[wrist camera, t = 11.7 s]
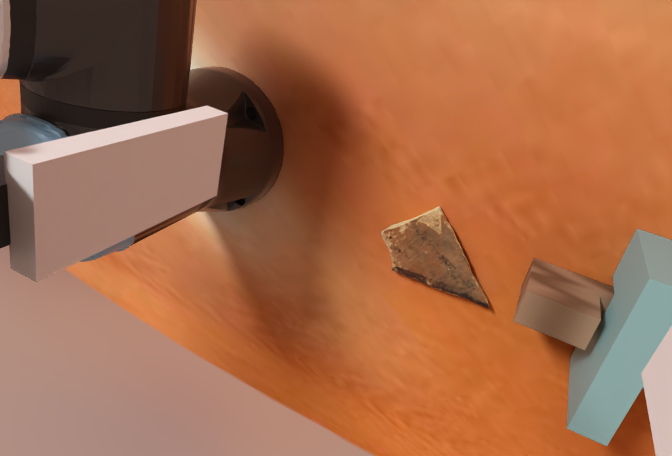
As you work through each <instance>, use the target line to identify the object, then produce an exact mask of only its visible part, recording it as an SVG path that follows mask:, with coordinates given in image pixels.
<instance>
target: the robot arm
mask: <svg viewBox="0 0 672 456" xmlns="http://www.w3.org/2000/svg"><path fill="white" fill-rule="evenodd" d="M196 2H197V0H0V79H19V81H20V95H21V114H20V113H17V114H13V115H9V116H7V117H5V118H4V119H3V120H1V121H0V248H2V247H5V246H7V245H9V247H10V264H11V269H13V270H15V271H17V272H18V273H20V274H22V275H24V276H26V277H28V278H30V279H32V280H33V281H35V282H38V281H40V280H42V279H44V278H46V277H48V276H50V275H52V274H54V273H57V272H59V271H61V270H63V269H65V268H67V267H69V266H71V265H73V264H75V263H77V262H84V261H91V260H94V259H97V258H100V257H102V256H105V255H107V254H110V253H112V252H115V251H122V250H125V249H126V248H129V246H131V245H133V244H135V243H137V242H139V241H141V240H143V239H145V238H146V237H148V236H150V235H152V234H154V233H156V232H158V231H160V230H162V229H164V228H166V227H168V226H170V225H172V224H174V223H176V222H178V221H180V220H181V219H183V218H185V217H187V216H189V215H191V214H193V213H195V212H211V211H233V210H237V209H240V208H243V207H245V206H247V205H249V204H251V203H253V202H255V201H257V200H258V199H260V198H261V197H263V196H264V195H265V194H266V193H267V192H268V191H269V190H270V189H271V187H272V186H273V184H274V183H275V181H276V179H277V177H278V175H279V172H280V169H281V165H282V159H283V138H282V132H281V127H280V124H279V121H278V118H277V115H276V113H275V111H274V109H273V107H272V105H271V103H270V102H269V100H268V98H267V97H266V96H265V94H264V93H263V92H262V91H261V90H260V88H259V87H258V86H257V85H256V84H254V83H253V82H252V81H251V80H250V79H248V78H247V77H245V76H244V75H242V74H240V73H238V72H236V71H234V70H231V69H227V68H223V67H206V68H198V69H192V70H190V65H191V54H192V44H193V33H194V23H195V12H196ZM641 375H642V380H643V386H644V392H645V397H646V403H647V409H648V414H649V420H650V426H651V431H652V437H653V443H654V448H655V454H656V456H672V326H671V327H670V329H669V331H668V332H667V334H666V335H665V337H664V338H663V340H662V342H661V343H660V345H659V346H658V348H657V349H656V351H655V353H654V354H653V356H652V357H651V359H650V360H649V362H648V363H647V365H646V367H645V368H644V370H643V371H642V373H641Z"/></svg>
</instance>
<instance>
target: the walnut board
mask: <svg viewBox="0 0 672 456" xmlns="http://www.w3.org/2000/svg"><path fill="white" fill-rule="evenodd" d="M614 295H615V294H614V287H613V286H610V285H607V284H604V283H602V282H599V281H596V280H593V279H591V278H588V277H585V276H583V275H580V274H577V273H574V272H572V271H569V270H566V269H563V268H561V267H558V266H555V265H553V264H550V263H547V262H544V261H542V260H539V259H536V258H534V259H533V261H532V263H531V266H530V268H529V270H528V273H527V275H526V277H525V280H524V282H523V284H522V288H521V292H520V296H519V300H518V304H517V308H516V313H515V317H514V322H516V323H519V324H521V325H524V326H526V327H529V328H531V329H534V330H536V331H539V332H541V333H543V334H546V335H548V336H551V337H553V338H556V339H558V340H561V341H563V342H566V343H568V344H571V345H573V346H575V347H578V348H580V349H583V350H585V349H586V347H587V345H588V343H589V341H590V340H591V338H592V336H593V334H594V332H595V330H596V329H597V327H598V325H599V323H600V321H601V319H602V317H603V315H604V314H605V312H606V310H607V308H608V306H609V304H610V302H611V300H612V298H613V296H614Z"/></svg>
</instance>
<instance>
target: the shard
mask: <svg viewBox="0 0 672 456" xmlns="http://www.w3.org/2000/svg"><path fill="white" fill-rule="evenodd" d="M381 235H382V237H383V239H384V241H385V243H386V245H387V247H388V249H389V252H390V255H391V259H392V263H393V266H392V270H393V271H395V272H398V273H399V274H403V275H404V276H406V277H409V278H412V279H416V280H418V281H419V282H421V283H424V284H427V285H429V286H431V287H433V288H436V289H439V290H442V291H444V292H447V293H449V294H453V295H456V296H459V297H463V298H466V299H469V300H471V301H473V302H475V303H477V304H479V305H482V306H485V307H487V308H490V307H489V304H488V298H487V296H486V295H485V293H484V291H483V289H482V287H481V285H480V284H479V282H478V281H477V280H476V278H475V276H474V275H473V273H472V272H471V268H470V265H469V262H468V260H467V258H466V257H465V255H464V253H463V250H462V247H461V246H460V244H459V242H458V240H457V238H456V235H455V232H454V230H453V229H452V227H451V225H450V224H449V223H448V221H447V219H446V216H445V214H444V213H443V211H442V209H441V207H440V206H439V207H437V208H435V209H433V210H430V211H428V212H426V213H424V214H422V215H419V216H417V217H414V218H412V219H410V220H406V221H402V222H400V223H397V224H393V225H392V226H390V227H388V228H387V229H385V230H383V231H382V233H381Z"/></svg>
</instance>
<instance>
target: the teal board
mask: <svg viewBox="0 0 672 456" xmlns="http://www.w3.org/2000/svg"><path fill="white" fill-rule="evenodd" d="M613 285H614V294H615V295H614V296H613V298H612V300H611V302H610V304H609V306H608V308H607V310H606V312H605V314H604V315H603V317H602V319H601V321H600V323H599V325H598V327H597V329H596V330H595V332H594V334H593V336H592V338H591V340H590V341H589V343H588V345H587V347H586V349H585V350H583V349H580V348H578V347H576V348H575V350H574V352H573V354H572V356H571V358H570V371H569V392H568V413H567V429H569V430H572V431H574V432H576V433H578V434H580V435H583V436H585V437H587V438H589V439H592V440H594V441H596V442H598V443H600V444H603V445H605V446H607V445H608V443H609V442H610V440H611V439H612V437H613V435H614V434H615V432H616V430H617V429H618V427H619V425H620V424H621V422H622V421H623V419H624V417H625V416H626V414H627V412H628V411H629V409H630V407H631V406H632V404H633V403H634V401H635V399H636V398H637V396H638V394H639V393H640V391H641V390H642V388H643V380H642V375H641V373H642V371H643V370H644V368H645V367H646V365H647V363H648V362H649V360H650V359H651V357H652V356H653V354H654V353H655V351H656V349H657V348H658V346H659V345H660V343H661V342H662V340H663V338H664V337H665V335H666V334H667V332H668V331H669V329H670V327H671V326H672V240H670V239H667V238H664V237H661V236H658V235H655V234H652V233H649V232H646V231H643V230H640V229H637V230H636V232H635V234H634V236H633V238H632V239H631V241H630V243H629V245H628V247H627V249H626V251H625V253H624V255H623V257H622V259H621V261H620V263H619V265H618V267H617V269H616V271H615V273H614V274H613Z"/></svg>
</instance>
